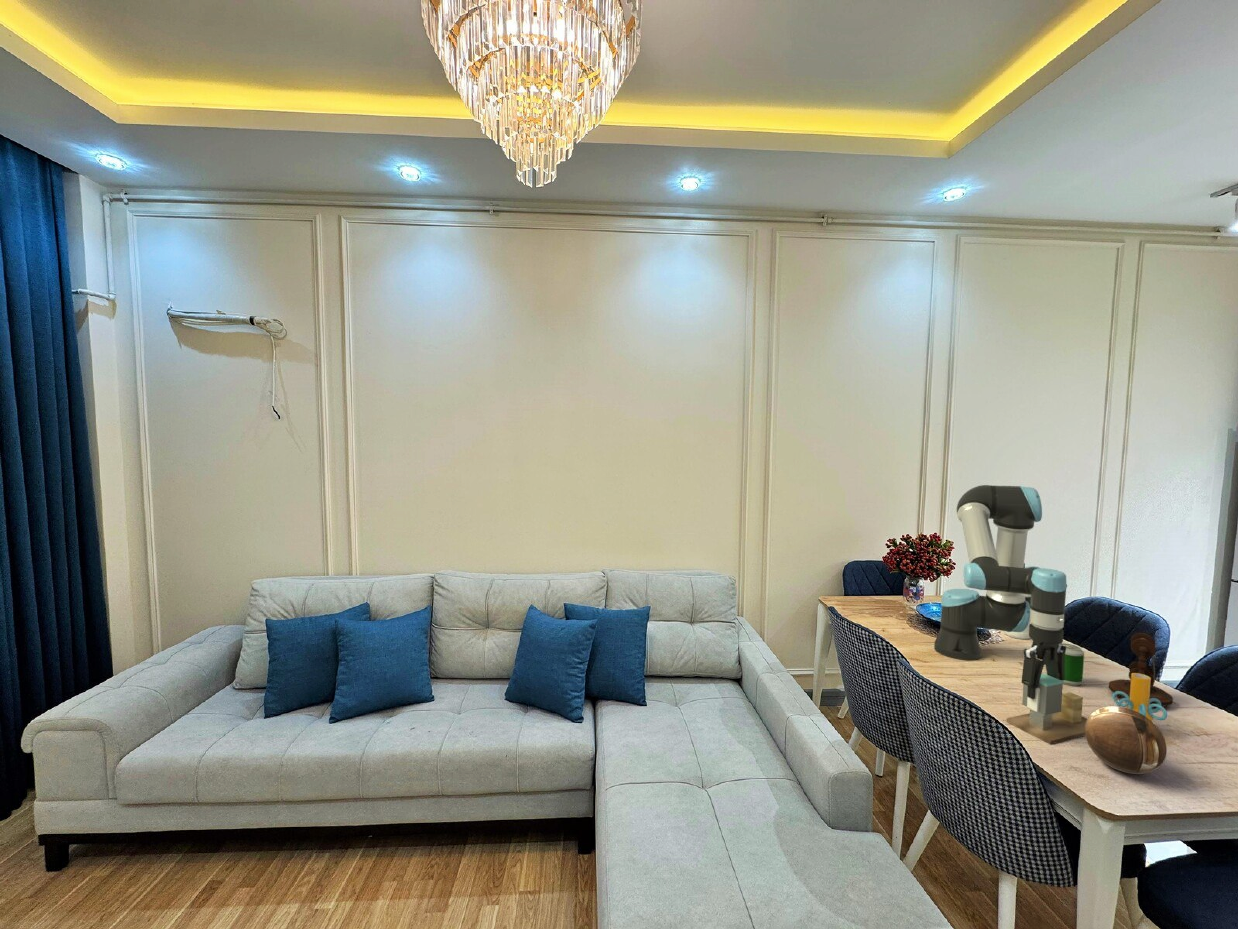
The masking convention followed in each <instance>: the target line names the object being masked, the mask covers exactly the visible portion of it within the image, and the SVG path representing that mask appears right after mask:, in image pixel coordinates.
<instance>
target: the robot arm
mask: <svg viewBox="0 0 1238 929" xmlns="http://www.w3.org/2000/svg"><path fill="white" fill-rule="evenodd" d="M956 515H957V518H958V520H959V521H960V522H961V524H962V530H963V535H964V540H965V541H964V542H965V544H966V545H965V546H966V550H967V557H968V563H965V564H964V567H963V583H964V585H965V586H966V587H967V588H952V589H948V590H945V591H944V592H943V593H942V595H941V596H942V597H941V603H940V606H941V611H940V612H941V613H940V614H941V615H940V629H939V632H938V633H937V635H936V638H935V640H934V646H933V648H934V650H935V651H936V652H937V653H939V654H940V655H943V656H946V657H949V658H952V659H956V660H957V659H958V660H965V661H974V660H980V659H981V658H982V648H981V645H980V642H979V638H978V629H979V628H980V629H985V630H993V631H1001V632H1004V631H1007V632H1022V631H1024V630H1025V629H1026V628H1027V626H1028V623H1029V621H1030V625H1029V637H1030V638H1029V639H1031V640H1032V644H1031V646H1030V647H1031V648H1029V649H1027V648H1023V656H1024V657H1023V664H1022V672H1021V684H1022V685H1023V684H1025V685H1027V686H1028V690H1027V697H1028V698H1027V706H1026V707H1027V708H1028V709H1029V710H1030V709H1032V710H1034V711H1036V712H1038V711H1039V699H1040V688H1038V684H1039V681H1040V677H1041V674H1042V673H1043V669H1044V667H1045V668H1046V669H1045V671H1046V675H1049V676H1051V677H1054V678H1056V679H1059V680H1062V681H1064V679H1065V652H1066V646H1063V645H1060V644H1061V643H1063V642H1064V633H1065V632H1064V629H1063V628H1065V627H1064V625H1065V611H1066V598H1067V597H1066V596H1067V588H1068V583H1067V574H1065V572H1063V571H1060V570H1057V569H1052V568H1045V567H1043V568H1042V567H1039V566H1035V565H1034V566H1033V565H1030V566H1025V568H1024V563H1025V557H1026V548H1027V540H1028V539H1027V538H1028V531H1031V530H1033V529H1034V527H1035V523H1038V522H1041V520H1042V519H1043V507H1042V500H1041V497H1040V494H1039V491H1038V490H1037V489H1036V488H1035V487H1030V486H1022V485H990V484H984V485H983V484H982V485H978V486H975V487H972V488H970V489H969V490H967V491H965V493H964V494H963V495H961V497H960V498H959V500H958V502H957V504H956ZM989 520H993V522H992V523H993V525H995V526H996V528H997V531H996V532H997V534H996V542H994V538H993V535H992V534H993V533H992V530H991V526H990V521H989ZM968 588H969V589H968ZM977 590H979V591H986V592H985V595H980V593H979V591H977ZM1022 594H1029V595H1031V607H1030V605H1029V603H1028V602H1027V601H1026V600H1025V597H1024V595H1022ZM1059 674H1060V675H1059Z"/></svg>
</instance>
